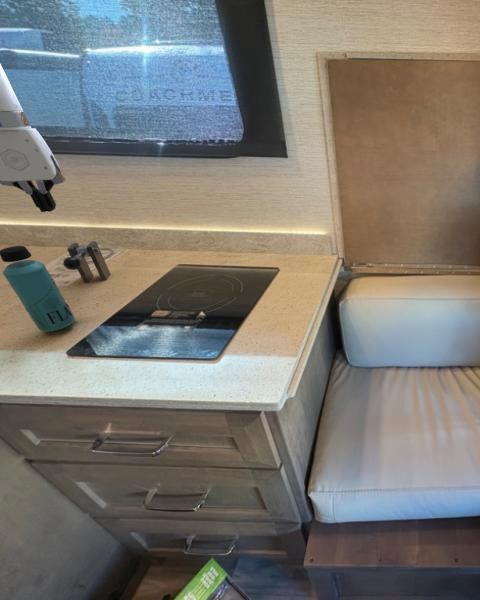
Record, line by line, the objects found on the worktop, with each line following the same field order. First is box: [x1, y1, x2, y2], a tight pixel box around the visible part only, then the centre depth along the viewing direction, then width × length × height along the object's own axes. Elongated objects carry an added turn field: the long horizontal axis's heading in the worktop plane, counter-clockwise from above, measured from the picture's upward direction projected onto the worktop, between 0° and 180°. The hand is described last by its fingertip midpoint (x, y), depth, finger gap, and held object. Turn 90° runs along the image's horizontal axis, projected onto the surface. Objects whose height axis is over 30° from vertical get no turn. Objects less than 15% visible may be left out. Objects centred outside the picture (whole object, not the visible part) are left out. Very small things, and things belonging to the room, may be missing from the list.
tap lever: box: [62, 244, 91, 271], centre depth 86 cm, size 12×3×3 cm, turn 24°
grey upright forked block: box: [66, 240, 111, 284], centre depth 92 cm, size 7×10×12 cm
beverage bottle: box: [0, 245, 75, 332], centre depth 71 cm, size 6×7×20 cm
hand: (48, 210), depth 77 cm, fingers closed
